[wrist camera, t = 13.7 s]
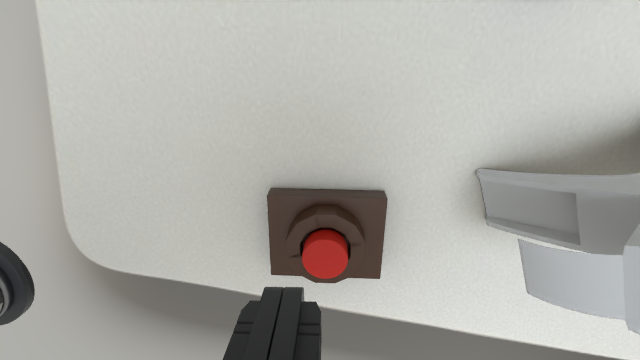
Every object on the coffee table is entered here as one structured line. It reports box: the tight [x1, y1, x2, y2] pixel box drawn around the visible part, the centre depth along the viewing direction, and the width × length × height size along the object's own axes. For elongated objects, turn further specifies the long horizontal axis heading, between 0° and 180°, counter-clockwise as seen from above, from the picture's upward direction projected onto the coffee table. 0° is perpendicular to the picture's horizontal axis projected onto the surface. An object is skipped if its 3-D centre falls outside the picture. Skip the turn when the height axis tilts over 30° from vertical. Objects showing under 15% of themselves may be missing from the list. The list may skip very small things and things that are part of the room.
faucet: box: [476, 168, 640, 334], centre depth 22 cm, size 6×16×20 cm
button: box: [302, 229, 348, 279], centre depth 25 cm, size 4×4×2 cm
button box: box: [267, 188, 387, 283], centre depth 27 cm, size 10×8×4 cm
